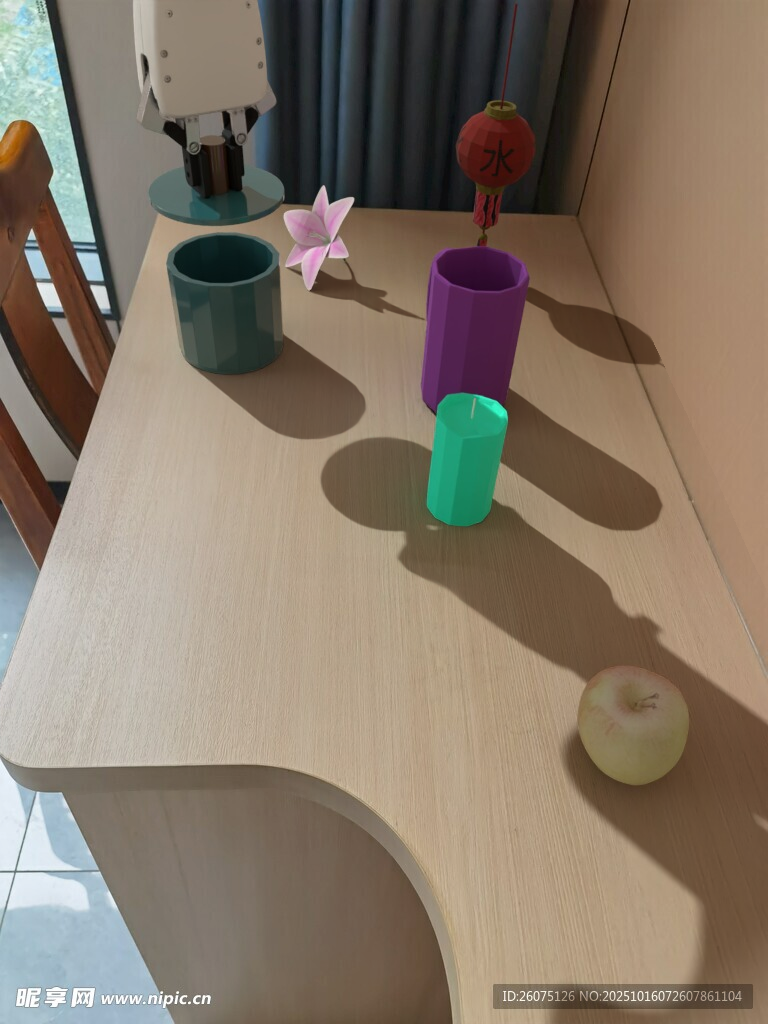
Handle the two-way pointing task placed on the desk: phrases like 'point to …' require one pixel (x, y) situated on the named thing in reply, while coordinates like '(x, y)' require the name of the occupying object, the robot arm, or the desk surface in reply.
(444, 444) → the candle
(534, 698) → the desk surface
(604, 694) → the fruit
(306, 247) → the lily
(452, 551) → the desk surface
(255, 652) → the desk surface
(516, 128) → the lantern
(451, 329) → the mug
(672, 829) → the desk surface
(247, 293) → the teal round pot
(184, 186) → the lid
